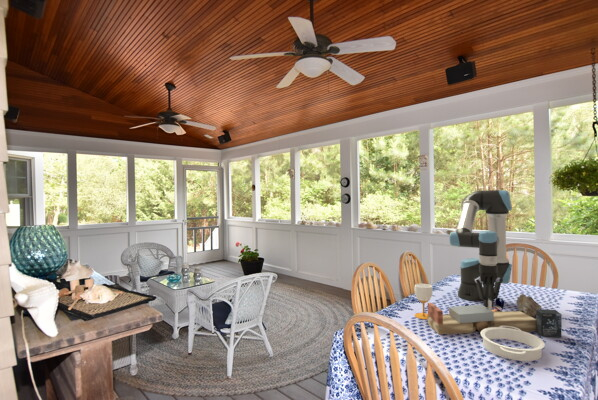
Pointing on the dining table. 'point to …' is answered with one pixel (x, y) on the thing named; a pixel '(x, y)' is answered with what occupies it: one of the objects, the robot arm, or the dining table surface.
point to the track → (451, 326)
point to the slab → (471, 314)
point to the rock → (527, 305)
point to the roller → (480, 325)
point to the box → (548, 323)
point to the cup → (423, 297)
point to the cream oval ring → (516, 336)
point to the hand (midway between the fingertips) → (488, 313)
